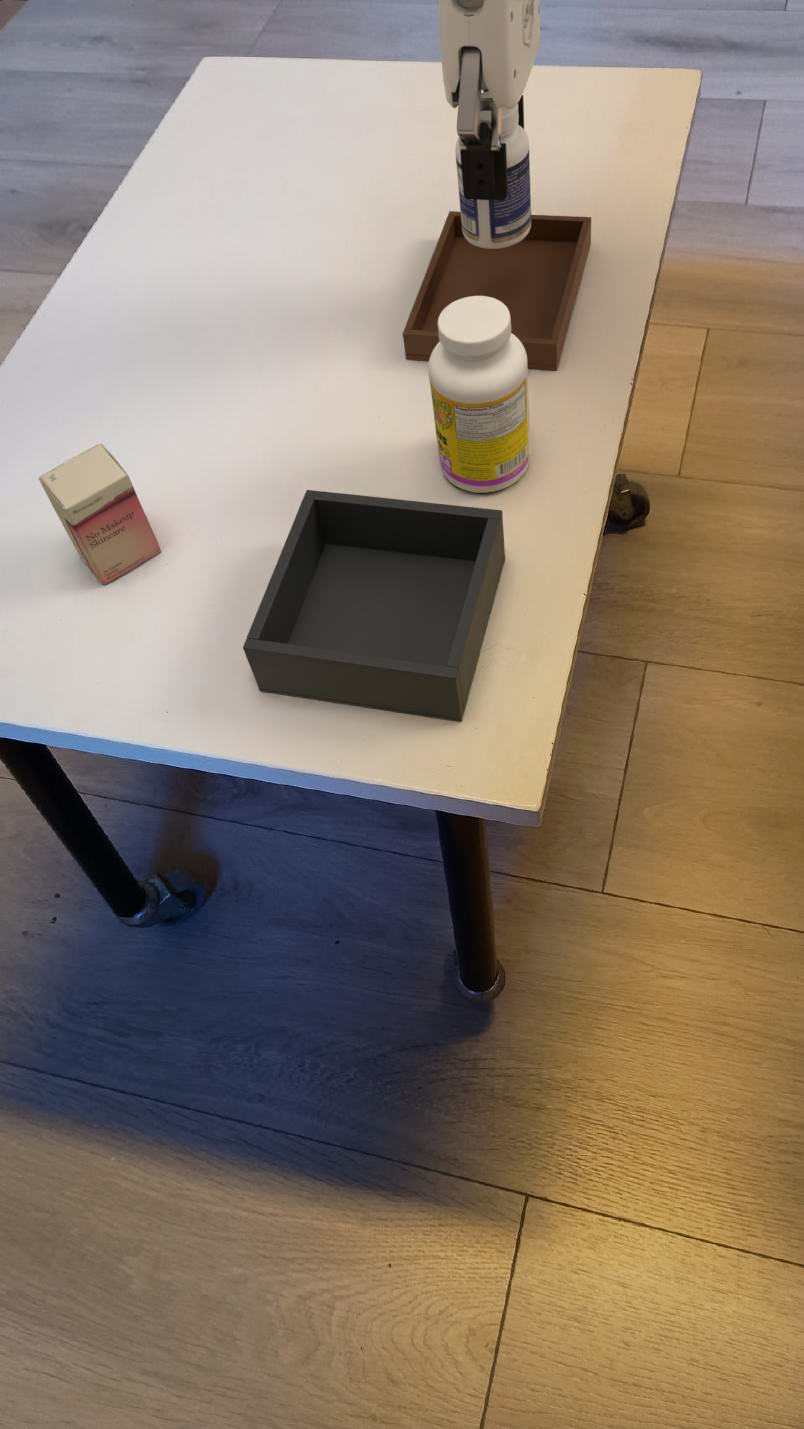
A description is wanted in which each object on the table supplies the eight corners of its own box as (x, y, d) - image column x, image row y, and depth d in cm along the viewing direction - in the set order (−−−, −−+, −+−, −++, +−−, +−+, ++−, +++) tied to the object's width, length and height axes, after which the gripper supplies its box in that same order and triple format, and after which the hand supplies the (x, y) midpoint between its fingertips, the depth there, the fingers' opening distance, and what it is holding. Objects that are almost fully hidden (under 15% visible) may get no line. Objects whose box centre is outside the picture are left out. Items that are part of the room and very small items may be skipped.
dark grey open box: (319, 537, 80) (306, 489, 76) (505, 558, 77) (502, 509, 73) (259, 691, 73) (242, 647, 69) (461, 722, 70) (455, 678, 66)
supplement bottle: (446, 432, 84) (429, 284, 73) (533, 432, 83) (530, 283, 72) (435, 497, 80) (416, 352, 70) (526, 498, 79) (521, 351, 69)
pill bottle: (539, 212, 87) (537, 86, 79) (520, 254, 85) (516, 128, 76) (473, 206, 89) (465, 82, 81) (453, 247, 86) (442, 123, 78)
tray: (451, 237, 97) (449, 210, 95) (590, 243, 95) (591, 216, 92) (405, 359, 89) (402, 333, 87) (556, 370, 86) (556, 344, 84)
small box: (104, 587, 79) (62, 510, 73) (77, 554, 82) (35, 476, 75) (164, 552, 81) (129, 472, 74) (136, 519, 83) (100, 440, 76)
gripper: (512, -43, 62) (522, 245, 77) (566, -172, 71) (565, 111, 86) (385, -42, 64) (418, 240, 79) (452, -167, 73) (470, 109, 88)
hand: (494, 170), depth 83 cm, fingers closed on pill bottle, 5 cm apart
